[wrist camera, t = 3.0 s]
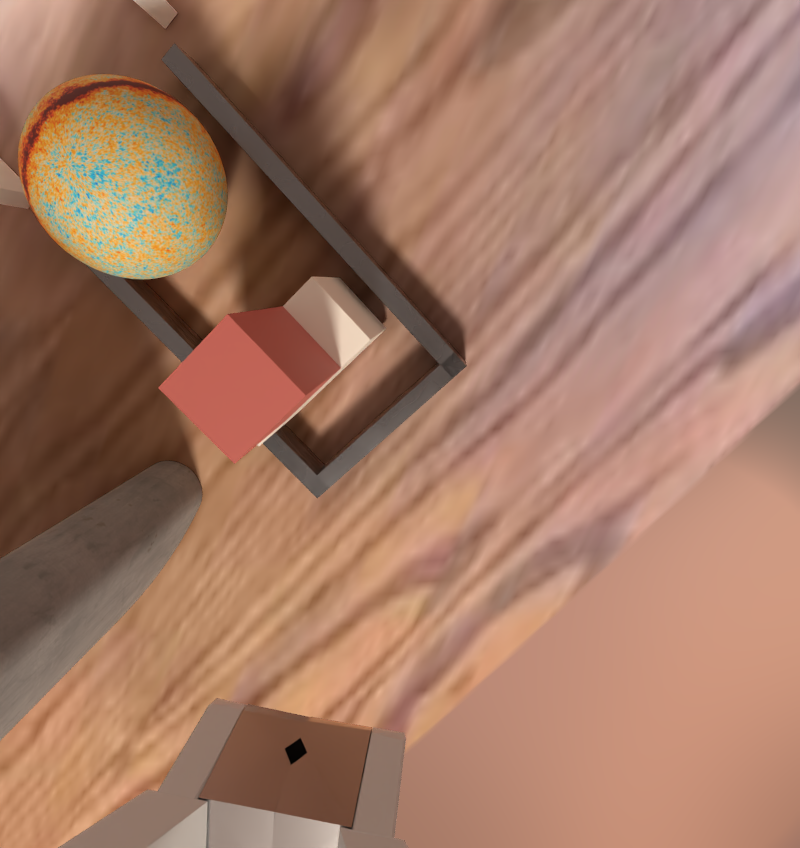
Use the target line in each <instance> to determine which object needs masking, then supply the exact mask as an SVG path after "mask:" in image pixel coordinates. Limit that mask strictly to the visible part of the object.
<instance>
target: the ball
mask: <svg viewBox="0 0 800 848" xmlns="http://www.w3.org/2000/svg"><path fill="white" fill-rule="evenodd" d="M18 167H19V175H20V180H21V184H22V188H23V191H24V194H25V197H26V199H27V201H28V204H29V206H30V208H31V210H32V212H33V213H34V215H35V217H36V218H37V220H38V221H39V223H40V224H41V226H42V227H43V228H44V230H45V231H46V232H47V233H48V234H49V236H50V237H51V238H52V239H53V240H54V241H55V242H56V243H57V244H58V245H59V246H60V247H62V248H63V249H64V250H65V251H66V252H68V253H69V254H70V255H72V256H73V257H75V258H76V259H78V260H79V261H81V262H82V263H84V264H86V265H88V266H90V267H92V268H94V269H96V270H99V271H101V272H104V273H107V274H110V275H114V276H118V277H123V278H129V279H154V278H161V277H165V276H169V275H172V274H175V273H177V272H180V271H182V270H184V269H186V268H188V267H189V266H191V265H192V264H194V263H195V262H197V261H198V260H199V259H200V258H201V257H202V256H203V255H204V254H205V253H206V252H207V251H208V250H209V249H210V248H211V246H212V245H213V243H214V242H215V240H216V239H217V237H218V235H219V233H220V231H221V228H222V226H223V223H224V219H225V215H226V210H227V199H228V192H227V181H226V175H225V171H224V167H223V164H222V161H221V158H220V155H219V153H218V150H217V148H216V146H215V144H214V142H213V141H212V139H211V137H210V136H209V134H208V133H207V131H206V130H205V128H204V127H203V125H202V124H201V123H200V122H199V120H198V119H197V118H196V117H195V116H194V115H193V114H192V113H191V112H190V111H189V110H188V109H187V108H186V107H185V106H184V105H182V104H181V103H180V102H179V101H178V100H176V99H175V98H173V97H172V96H171V95H169V94H168V93H166V92H164V91H163V90H161V89H159V88H157V87H155V86H153V85H151V84H149V83H146V82H143V81H141V80H138V79H134V78H131V77H126V76H121V75H113V74H94V75H87V76H82V77H78V78H74V79H72V80H69V81H67V82H64V83H62V84H60V85H59V86H57V87H55V88H54V89H52V90H51V91H49V92H48V93H47V94H46V95H45V96H44V97H42V98H41V99H40V101H39V102H38V103H37V104H36V105H35V107H34V108H33V109H32V111H31V112H30V114H29V116H28V118H27V120H26V122H25V124H24V127H23V130H22V133H21V137H20V141H19V149H18Z"/></svg>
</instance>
